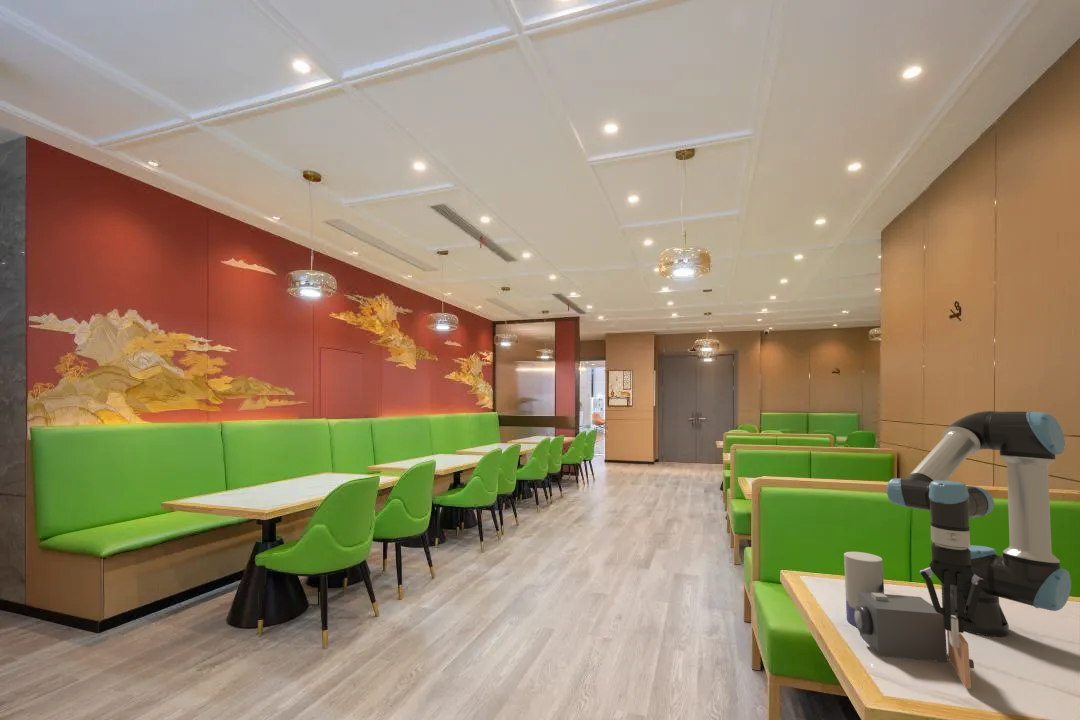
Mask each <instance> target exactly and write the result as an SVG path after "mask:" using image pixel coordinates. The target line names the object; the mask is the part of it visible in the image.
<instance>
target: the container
mask: <svg viewBox="0 0 1080 720" xmlns="http://www.w3.org/2000/svg"><path fill="white" fill-rule="evenodd" d="M843 560H844V561H843V562H844V563H843V564H844V586H845V587H844V588H845V608H846V609H845V610H846V611H845V612H846V620H847V622H848V623H849V624H851V625H853V626H855V627H857V625H856V622H855V607H856V606H859V604H858V592H863V593H871V592H872V593H883V594H885V588H884V587H885V586H884V582H885V581H884V566H883V565H884V561H883V558H882V557H880V556H879V555H875V554H873V553H869V552H863V551H862V552H861V551H847V552H844V553H843Z"/></svg>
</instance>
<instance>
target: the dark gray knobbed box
mask: <svg viewBox="0 0 1080 720" xmlns="http://www.w3.org/2000/svg"><path fill="white" fill-rule="evenodd" d="M858 604H859V606H856V607H855V622H856V625H857V626H856V627H857V630H858V632H859V636H860V637H861V638H862V639H863V640H864V641H865V643H866V644H867V645H868V646H869V647H870V648H871V649H872V650H873V652H875V653H876V654H877V656H880V657H892V658H901V659H902V658H903V659H911V660H912V659H913V660H921V661H922V660H923V661H931V662H939V663H940V662H941V663H948V651H947V650H948V646H947V636H946V635H947V634H946V632H947V630H946V629H945V627H944V621H943V615H942V614H940V613H937V612H936V610H935V609H934V607H933V604H932V603H930V602H928V601H927V600H925V599H924V598H922V596H915V595H914V596H913V595H903V594H901V595H900V594H889V593H888V594H885V593H884V594H883V593H872V592H871V593H863V592H858Z"/></svg>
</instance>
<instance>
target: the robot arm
mask: <svg viewBox="0 0 1080 720" xmlns="http://www.w3.org/2000/svg"><path fill="white" fill-rule="evenodd" d="M1065 443H1066V442H1065V436H1064V432H1063V429H1062V426H1061V424H1060V423H1059V421H1058V420H1057V419H1056V418H1055V416H1053V415H1052V414H1050V413H1047V412H1042V411H1041V412H1039V411H997V410H996V411H995V410H994V411H993V410H992V411H991V410H988V411H987V410H984V411H978V412H974V413H972V414H968V415H966V416H964V417H961V418H959V419H957V420H956V421H954V422H953V423H951V424H950V425H948V426H947V427H946V429H944V431H943V432H942V434H941V440H940V441H939V442H938V443H937V444H936V445H935V446H934V447H933V448H932V449H931V451H930V452H929V453H928V454H927V455H926V456H925V457H924V458H923V459H922V460H921V462H919V463H918V465H917V466H916V467H915V468H914V469H913V470H912V471H911V472H910V473H909V474H908V476H906V478H901V477H899V478H897V477H895V478H891V479H890V480H889V481H887V486H886V495H887V497H888V500H889V501H890V502H891V504H893V505H897V506H902V507H905V508H911V509H918V510H922V511H923V510H925V511H930V513H929V514H930V541H931V542H932V543H931V545H930V546H931V548H930V550H931V561H930V563H929V565H928V566H929V567H927V568H924V569H923V568H920V569H918V570H919V571H918V572H919V573H920V575H921V577H922V578H923V579H924V582H925V586H926V588H927V591H928V594H929V598H930V601H931V602H932V603H931V605H932V606H933V607H934V609H935V610H936V612H937V613H940V614H942V615H943V621H944V627H945V630H946V631H947V630H948V631H949V642H950V644H951V645H952V647H957V648H959V637H958V636H959V632H960V633H961V634H964V632H965V631H966V632H969V633H974V634H977V635H982V636H990V637H991V636H992V637H1004V636H1007V635H1009V634H1010V625H1009V623H1008V620H1007V618H1006V616H1005V613H1004V611H1003V610H1002V607H1001V604H1000V598H1002V599H1005V600H1009V601H1013V602H1017V603H1021V604H1024V605H1028V606H1031V607H1034V608H1036V609H1043V610H1047V611H1051V612H1057V611H1059V610H1062V609H1063V608H1064V607H1065V605H1066V604H1067V602H1068V600H1069V597H1070V595H1071V590H1072V578H1071V575H1070V572H1069V570H1067V569H1065V568H1064V567H1063V568H1062V567H1061V561H1060V559H1059V558H1058V557H1056V556H1055V555H1054V553H1053V552H1052V550H1053V549H1052V535H1051V534H1052V532H1051V528H1052V527H1051V510H1050V509H1051V507H1050V506H1051V505H1050V484H1049V483H1050V481H1049V478H1050V477H1049V466H1050V465H1051V464H1053V463H1055V462H1056V456H1057V455H1062V454H1063V453H1064V451H1065V446H1066V444H1065ZM981 450H994V451H999V457H1000V458H1001V459H1003V460H1004V462H1006V473H1007V475H1006V476H1007V501H1008V503H1007V506H1008V508H1007V509H1008V510H1007V511H1008V530H1009V533H1008V534H1009V536H1008V537H1009V545H1008V547H1006V548H1005V549H1004V550H1003V551H1002V555H998V554H997V551H996V549H995V548H993V547H988V546H985V545H984V546H982V545H972V544H971V537H970V536H971V535H970V530H971V529H970V519H973V518H982V517H984V516H986V515H988V514H989V513H991V512H992V511H993V509H994V507H995V501H994V498H993V495H991V493H990V492H989V491H988V490H986V489H985V488H982V487H979V486H972V485H966V484H965V483H964V482H960V481H953V480H949V479H950V478H951V477H952V476H953V475H954V473H955V472H956V471H957V469H959V467H960V466H961V465H962V464H963V462H964V461H965V460H966V459H967V458H968V457H969V456H971V455H975V454H976V453H978V452H979V451H981ZM933 574H934V575H935V576H936V578H937V579H938V580H939V581H940V584H941V600H942V601H941V603H942V605H940V602H939V601H940V600H939V598H938V595H937V592H936V589H935V585H934V583H933V581H932V578H933ZM941 606H942V607H941Z"/></svg>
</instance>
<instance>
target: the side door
mask: <svg viewBox="0 0 1080 720" xmlns="http://www.w3.org/2000/svg"><path fill="white" fill-rule="evenodd" d="M946 632H947V634H946V635H947V636H946V637H947V650H948V651H947V655H948V661H950V663H951V665H952V666H953V668H954V670H955V673H956V674H957V676H958V678H959V679H960V681H961V683H962V684H963V686H964V688H966V689H970V690H971V689H972V682H971V669H975V662H974V659H971V658H970V651H969V643H968V641H967V640H966V638H965V637H964V636H963V633H960V632H959V636H958V637H959V648H957V647H952V645H951V644H950V642H949V631H948V630H946Z"/></svg>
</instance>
